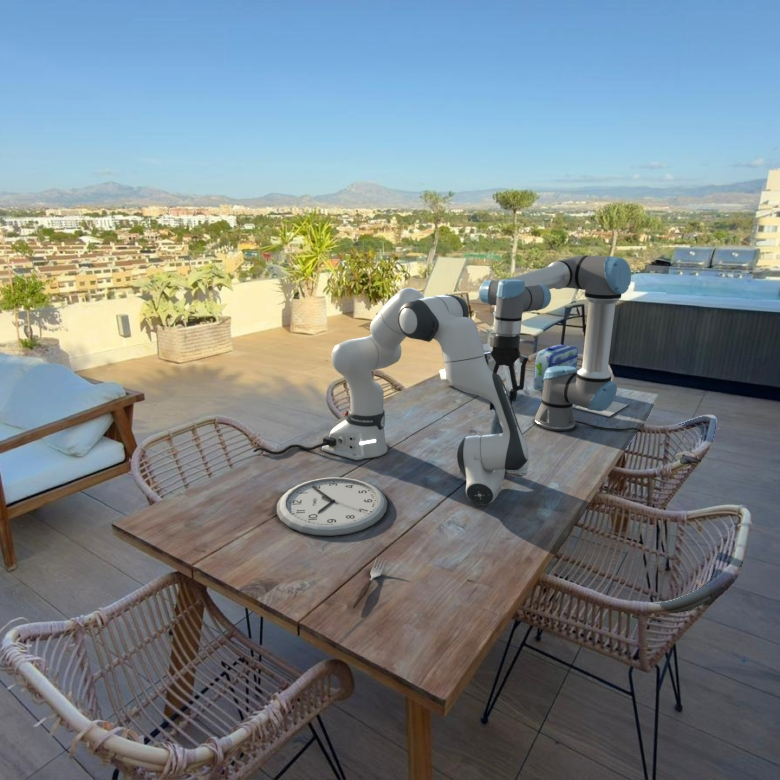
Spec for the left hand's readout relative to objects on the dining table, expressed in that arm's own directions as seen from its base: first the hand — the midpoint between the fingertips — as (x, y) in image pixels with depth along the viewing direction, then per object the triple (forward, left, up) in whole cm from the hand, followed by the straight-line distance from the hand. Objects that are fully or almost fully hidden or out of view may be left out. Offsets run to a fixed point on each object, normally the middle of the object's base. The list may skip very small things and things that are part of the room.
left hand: (497, 451), depth 164 cm
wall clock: (-38, -39, -6) cm, 55 cm away
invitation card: (+33, +79, -6) cm, 86 cm away
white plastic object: (-20, +79, -6) cm, 82 cm away
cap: (0, -1, +16) cm, 16 cm away
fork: (-16, -67, -6) cm, 69 cm away
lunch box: (+12, +98, -6) cm, 99 cm away
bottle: (0, -1, -6) cm, 6 cm away
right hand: (0, -1, +14) cm, 14 cm away
